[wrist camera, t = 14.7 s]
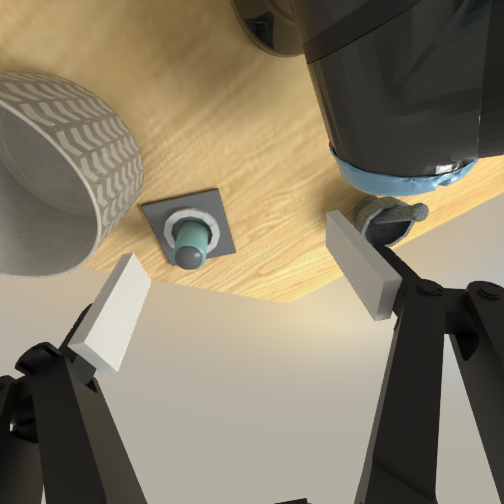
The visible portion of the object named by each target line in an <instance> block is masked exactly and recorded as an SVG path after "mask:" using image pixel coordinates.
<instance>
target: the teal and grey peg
mask: <svg viewBox="0 0 504 504" xmlns="http://www.w3.org/2000/svg"><path fill="white" fill-rule="evenodd" d="M207 244H208V229H207V227H206V225H205V224H203V223H202V222H200V221H198V220H188V221H186V222H184V223H183V224H182V225H181V227H180V229H179V233H178V236H177V239H176V242H175V245H174V249H173V252H172V259H173V261H174V263H175V264H176V265H177V266H179V267H180V268H183V269H187V270H194V269H198V268H200V267H201V266H202V265H203V264H204V263H205V261H206V253H207Z"/></svg>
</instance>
